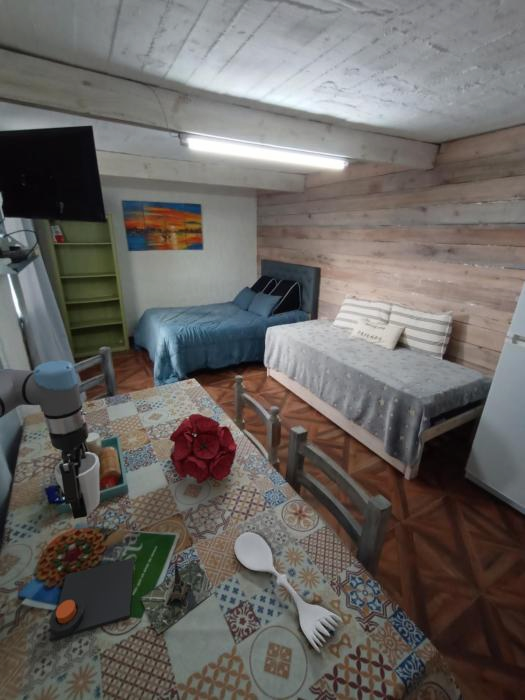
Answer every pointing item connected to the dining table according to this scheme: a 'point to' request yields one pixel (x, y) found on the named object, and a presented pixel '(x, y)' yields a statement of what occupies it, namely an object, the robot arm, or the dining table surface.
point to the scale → (95, 598)
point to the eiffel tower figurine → (177, 595)
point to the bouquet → (202, 449)
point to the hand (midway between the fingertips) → (84, 500)
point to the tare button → (66, 611)
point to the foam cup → (86, 480)
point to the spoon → (259, 558)
